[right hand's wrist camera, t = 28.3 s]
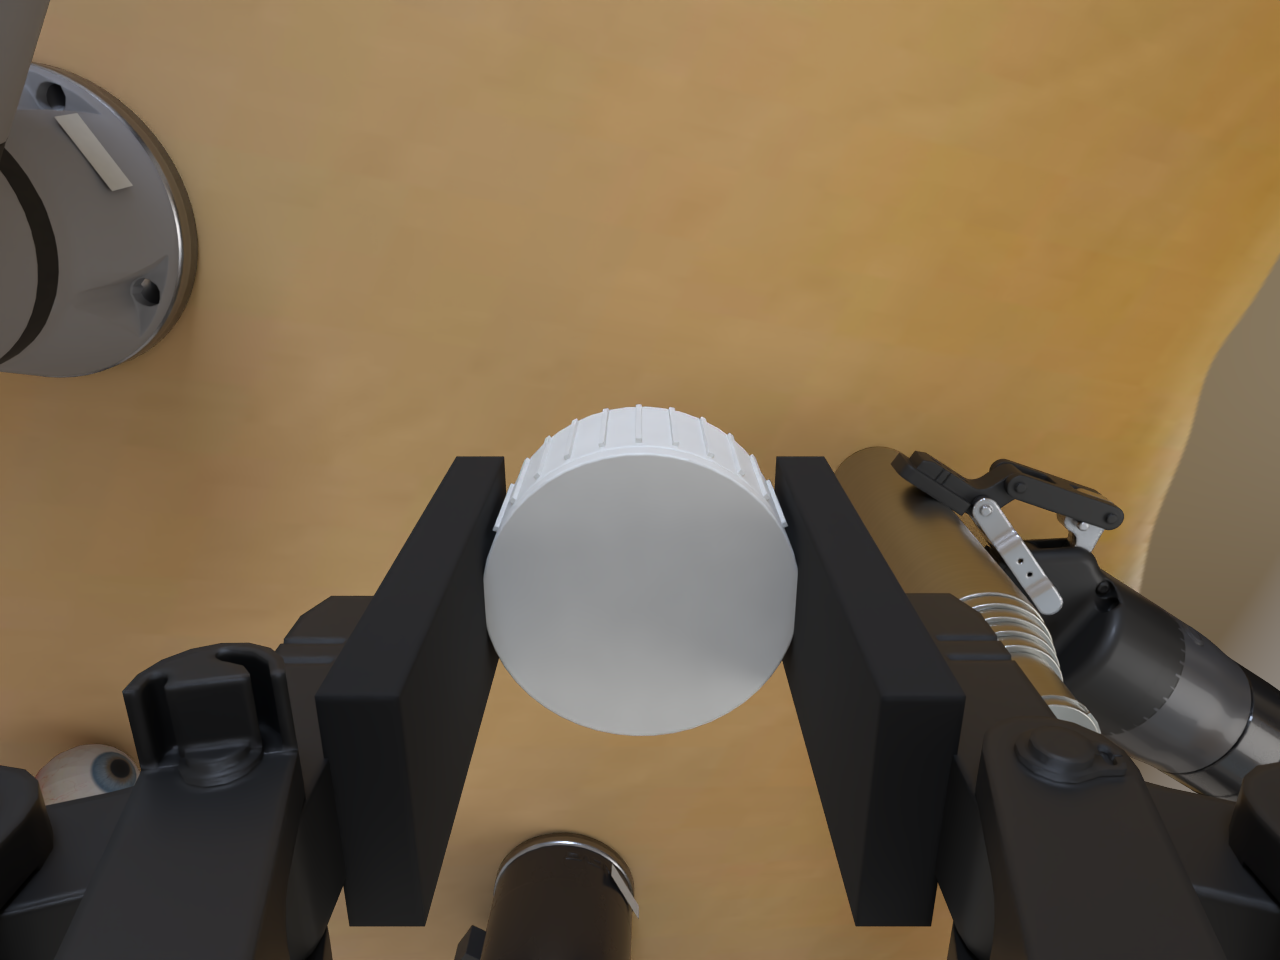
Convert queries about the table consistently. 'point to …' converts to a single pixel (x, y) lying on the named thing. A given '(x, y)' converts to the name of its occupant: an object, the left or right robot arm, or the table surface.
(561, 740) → the table surface
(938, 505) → the bottle
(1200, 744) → the left robot arm
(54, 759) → the eyeball
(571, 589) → the cap
